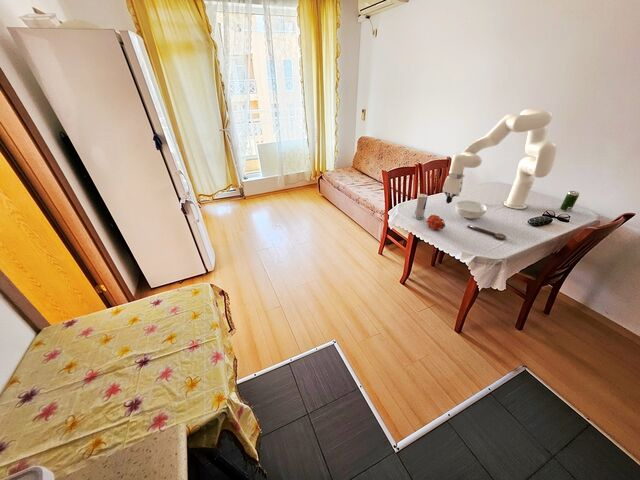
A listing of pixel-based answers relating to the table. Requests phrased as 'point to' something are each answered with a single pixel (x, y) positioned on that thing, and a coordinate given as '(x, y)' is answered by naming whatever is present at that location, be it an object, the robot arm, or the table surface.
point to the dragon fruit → (435, 222)
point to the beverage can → (420, 206)
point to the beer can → (569, 201)
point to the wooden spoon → (489, 232)
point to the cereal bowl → (470, 209)
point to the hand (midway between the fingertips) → (448, 202)
